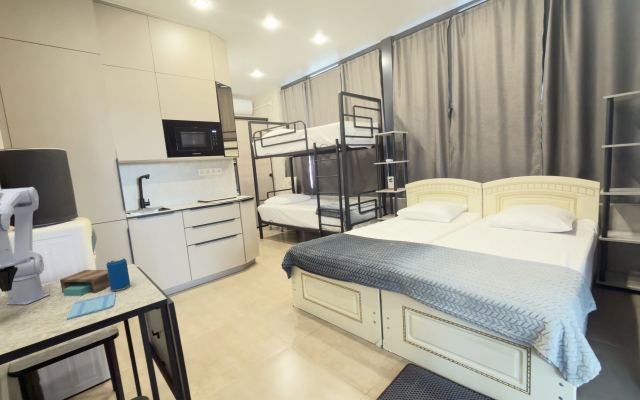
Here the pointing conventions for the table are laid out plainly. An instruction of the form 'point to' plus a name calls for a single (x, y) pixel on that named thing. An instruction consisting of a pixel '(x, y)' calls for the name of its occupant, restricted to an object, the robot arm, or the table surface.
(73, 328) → the table surface
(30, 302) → the robot arm
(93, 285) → the wooden box
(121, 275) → the beverage can
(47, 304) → the table surface
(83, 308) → the light blue flat pad
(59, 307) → the table surface
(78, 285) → the teal slab tile
